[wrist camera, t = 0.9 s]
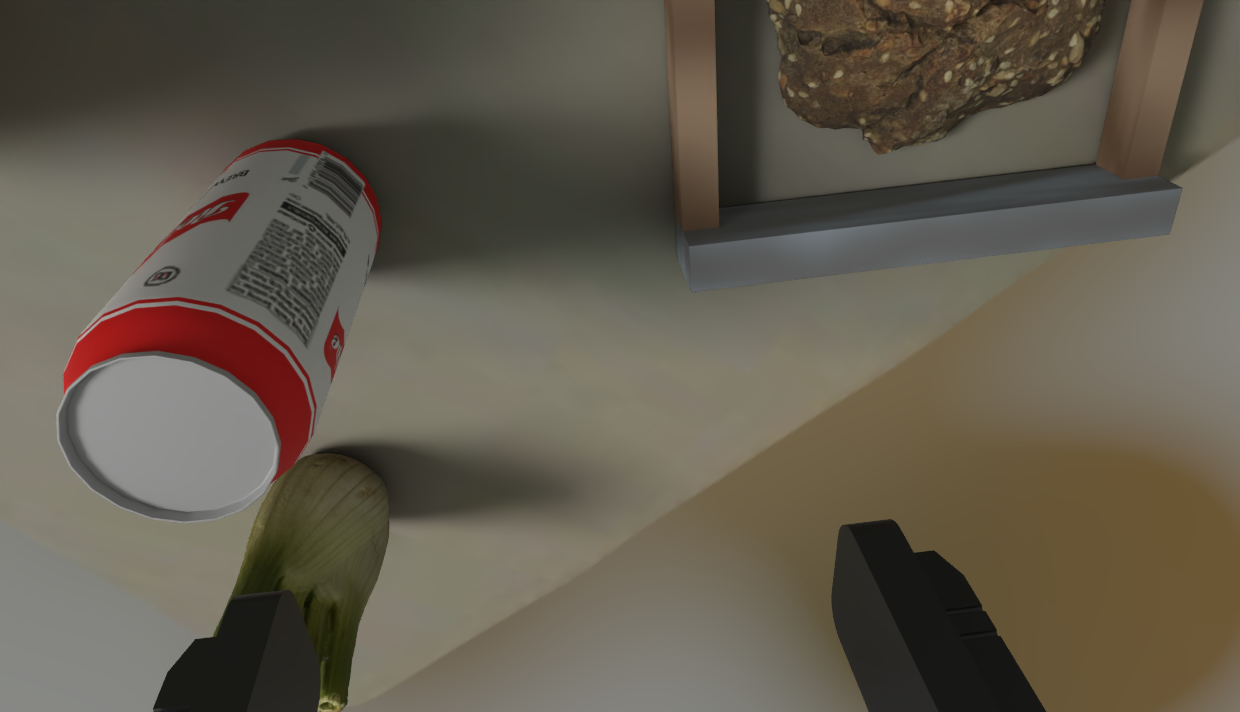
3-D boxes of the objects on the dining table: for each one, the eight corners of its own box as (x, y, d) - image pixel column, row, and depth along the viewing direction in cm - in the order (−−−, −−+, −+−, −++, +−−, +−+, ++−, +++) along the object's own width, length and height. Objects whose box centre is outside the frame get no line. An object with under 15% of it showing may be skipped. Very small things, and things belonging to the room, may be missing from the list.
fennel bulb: (268, 447, 40) (185, 652, 30) (368, 422, 40) (318, 619, 30) (318, 535, 43) (257, 748, 33) (411, 511, 43) (379, 718, 33)
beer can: (416, 199, 35) (353, 428, 21) (328, 304, 37) (220, 575, 23) (279, 96, 32) (107, 281, 19) (193, 215, 34) (-20, 461, 21)
